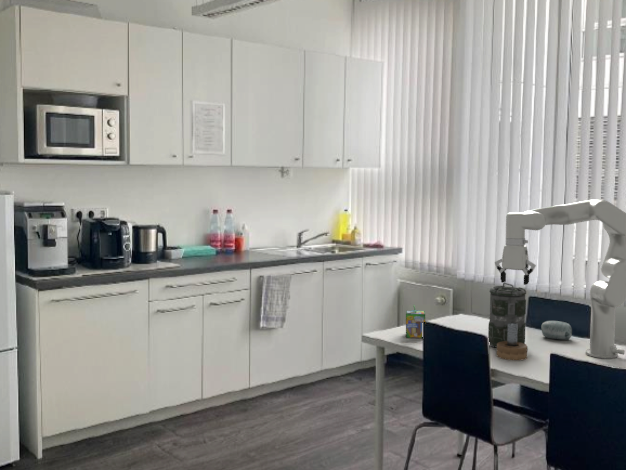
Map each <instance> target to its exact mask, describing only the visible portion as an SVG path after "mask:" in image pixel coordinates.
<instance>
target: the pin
mask: <svg viewBox="0 0 626 470" xmlns="http://www.w3.org/2000/svg"><path fill="white" fill-rule="evenodd" d="M517 331H518V324H517V323H508V333H507V346H514V347H515V346H517Z"/></svg>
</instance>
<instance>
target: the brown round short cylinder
mask: <svg viewBox="0 0 626 470" xmlns="http://www.w3.org/2000/svg"><path fill="white" fill-rule="evenodd" d="M496 357H497V358H499V359H502V360H506V361H507V360H508V361H523V360H526V359H527V358H528V345H527V343H525V344H524V343H520V342H517V346H515V347H514V346H507V341H504V342H499V343H497V347H496Z"/></svg>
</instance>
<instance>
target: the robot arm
mask: <svg viewBox="0 0 626 470" xmlns="http://www.w3.org/2000/svg"><path fill="white" fill-rule="evenodd" d="M589 221H590V222H591V221H600V222H601V223H602V225H603V228H604V230H605V231H606V233H607V235H608V238H609V243H608V244H609V245H608V248H607V251H606V254H605V256H604V258H603V262H602V264H601V268H600V270H601V273H602V275H603V276H604V277H606V278H608V279H609V280H596V282H594V283H592V285H591V287H590V290H589V299H590V332H589V348H588V349H586V350H585V354H586V355H587V356H590V357H593V358H598V359H615V358H618V357H619V355H618V354H620V355H625V353H626V352H625V349H623V348H618V347H617V344H615V335H616V330H615V329H616V308H619V307H621V306H623V305H624V304H625V302H626V211H623V210H622V209H620V208H619V207H618V206H616V205H614V204H613V203H612V202H609V201H608V200H604V199H596V198H594V199H588V200H583V201H577V202H572V203H566V204H565V203H564V204H558V205H554V206H546V207H540V208H535V209H531V210H530V209H529V210H526V211H524V212H520V211H519V212H517V211H515V212H513V211H512V212H508V213H507V214H506V216H505V245H504V246H503V249H502V257H501V259H498V260H496V261H494V265H495V268H496V270H497V271H498V272H499V273H500V276H499V277H500V279H499V280H500V282H501V284H503V283H507V282H506V280H507V273H506V271H507V270H513V271H522V272H523V274H524V275H523V286H524V285H525V286H526V285H528V284H529V283H530V275H531V274H532V273H533V272H534V270H535V268H536V267H537V264H535V263H534V262H532V261H530V259H529V251H528V250H529V249H528V246H527V245H526V244H528V243H529V239H526V235H525V234H526V231H527V230H529V231H540V230H542V229H544V227H545V226H550V225H551V226H552V225H557V226H561V225H562V226H565V225H567V226H569V225H573V224H578V223H584V222H589ZM500 264H501V265H500ZM529 266H530V268H529Z"/></svg>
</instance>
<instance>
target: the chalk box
mask: <svg viewBox="0 0 626 470" xmlns="http://www.w3.org/2000/svg"><path fill="white" fill-rule="evenodd" d="M412 305H413V309H414V310H408V309H407V310H406V312H405V338H406V339H407V338H408V339H413V338H416V339H423V338H422V323H423V322H425V323H426V310H416V306H415V304H412Z"/></svg>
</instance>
